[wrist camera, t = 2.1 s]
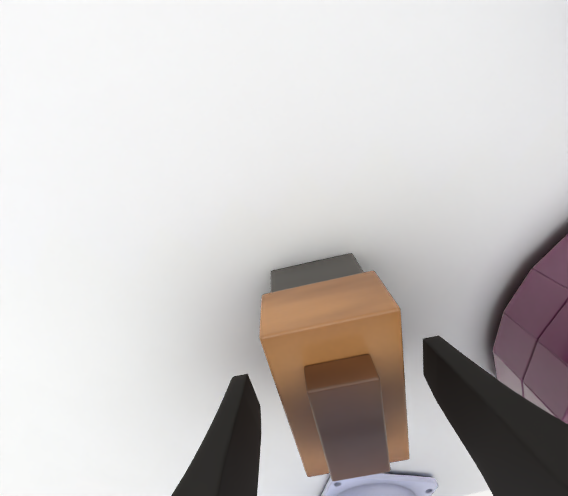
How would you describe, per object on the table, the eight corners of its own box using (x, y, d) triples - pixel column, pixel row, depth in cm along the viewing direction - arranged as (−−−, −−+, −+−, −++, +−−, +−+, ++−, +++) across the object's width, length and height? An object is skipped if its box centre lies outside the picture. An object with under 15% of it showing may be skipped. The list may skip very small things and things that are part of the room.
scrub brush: (373, 370, 16) (422, 488, 11) (297, 385, 16) (310, 508, 11) (357, 245, 12) (417, 331, 7) (262, 266, 13) (256, 364, 8)
